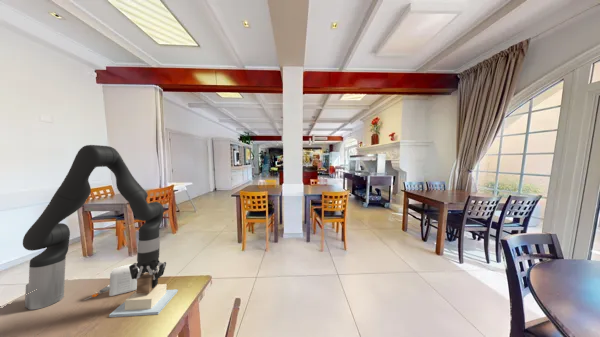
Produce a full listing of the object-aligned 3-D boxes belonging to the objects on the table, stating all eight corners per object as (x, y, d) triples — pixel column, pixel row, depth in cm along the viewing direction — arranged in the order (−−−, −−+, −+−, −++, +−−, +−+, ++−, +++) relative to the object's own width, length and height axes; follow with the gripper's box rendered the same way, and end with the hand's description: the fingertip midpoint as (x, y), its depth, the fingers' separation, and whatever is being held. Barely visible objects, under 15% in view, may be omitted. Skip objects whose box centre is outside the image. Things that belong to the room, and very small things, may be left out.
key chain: (111, 285, 92) (112, 282, 92) (118, 285, 91) (118, 282, 91) (77, 303, 79) (77, 300, 79) (85, 304, 78) (85, 301, 78)
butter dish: (109, 317, 71) (109, 304, 71) (137, 293, 85) (137, 282, 85) (158, 314, 73) (158, 301, 73) (177, 291, 87) (178, 281, 87)
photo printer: (139, 285, 91) (140, 260, 91) (137, 290, 87) (138, 264, 88) (110, 292, 85) (111, 266, 86) (107, 298, 82) (108, 270, 82)
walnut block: (136, 293, 76) (137, 279, 77) (145, 286, 81) (145, 272, 82) (149, 292, 77) (149, 278, 77) (157, 285, 82) (157, 272, 82)
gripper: (123, 252, 75) (122, 294, 75) (160, 251, 77) (159, 292, 76) (137, 245, 83) (136, 282, 82) (171, 244, 84) (170, 281, 84)
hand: (147, 287), depth 79 cm, fingers closed on walnut block, 5 cm apart
